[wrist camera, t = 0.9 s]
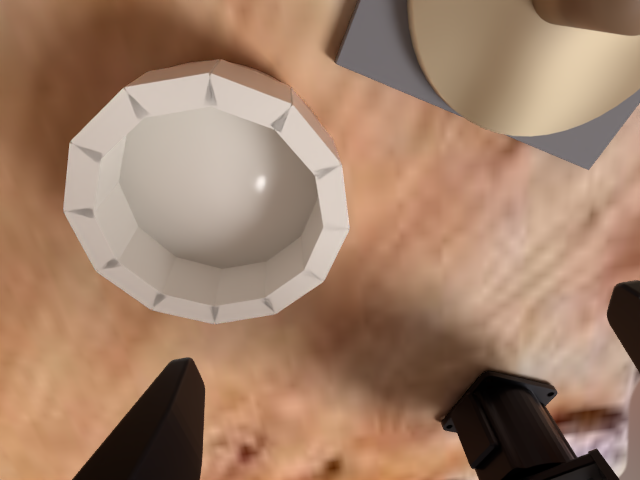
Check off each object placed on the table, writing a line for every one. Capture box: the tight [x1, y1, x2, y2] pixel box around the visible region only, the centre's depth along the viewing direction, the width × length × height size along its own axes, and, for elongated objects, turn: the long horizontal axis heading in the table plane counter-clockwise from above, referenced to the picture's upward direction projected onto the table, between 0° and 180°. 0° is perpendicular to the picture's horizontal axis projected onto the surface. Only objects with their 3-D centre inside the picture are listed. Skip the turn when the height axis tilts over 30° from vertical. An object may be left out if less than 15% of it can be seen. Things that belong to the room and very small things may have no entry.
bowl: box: [63, 59, 350, 324], centre depth 19 cm, size 11×11×4 cm
